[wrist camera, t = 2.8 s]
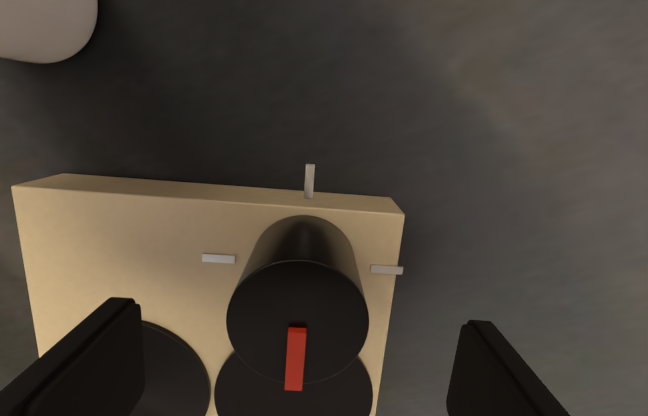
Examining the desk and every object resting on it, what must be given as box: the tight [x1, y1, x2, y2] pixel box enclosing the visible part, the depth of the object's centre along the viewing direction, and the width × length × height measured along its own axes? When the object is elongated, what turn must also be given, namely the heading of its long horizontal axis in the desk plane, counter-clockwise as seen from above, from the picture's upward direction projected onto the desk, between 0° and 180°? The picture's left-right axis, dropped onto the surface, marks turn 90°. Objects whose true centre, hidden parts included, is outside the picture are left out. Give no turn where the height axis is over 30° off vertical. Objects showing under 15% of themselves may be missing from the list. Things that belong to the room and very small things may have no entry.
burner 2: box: [214, 350, 373, 416], centre depth 17 cm, size 8×8×1 cm
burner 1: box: [130, 320, 211, 416], centre depth 16 cm, size 8×8×1 cm
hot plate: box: [11, 164, 405, 416], centre depth 17 cm, size 16×16×3 cm
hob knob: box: [226, 215, 369, 391], centre depth 13 cm, size 4×4×5 cm
